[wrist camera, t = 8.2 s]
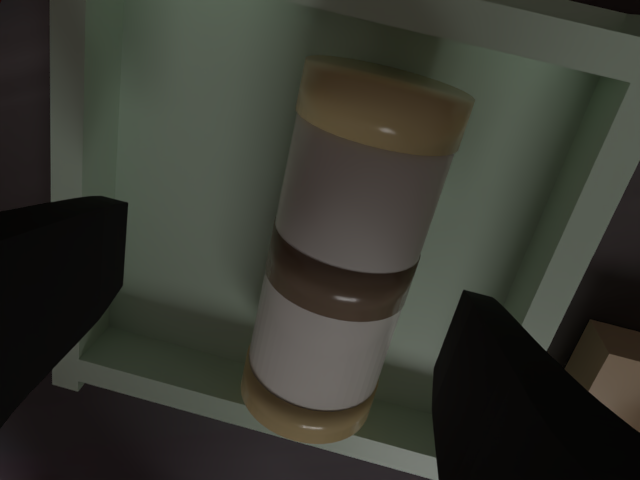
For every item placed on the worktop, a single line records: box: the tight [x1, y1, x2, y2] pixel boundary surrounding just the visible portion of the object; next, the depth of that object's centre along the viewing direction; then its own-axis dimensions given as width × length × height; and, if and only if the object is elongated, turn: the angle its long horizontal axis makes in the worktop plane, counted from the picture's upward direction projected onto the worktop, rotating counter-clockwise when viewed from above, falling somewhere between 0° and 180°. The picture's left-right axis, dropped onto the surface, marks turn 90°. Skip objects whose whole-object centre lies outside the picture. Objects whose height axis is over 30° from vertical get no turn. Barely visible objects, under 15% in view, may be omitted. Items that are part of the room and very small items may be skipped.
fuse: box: [241, 55, 475, 444], centre depth 13 cm, size 8×4×4 cm, turn 168°
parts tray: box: [50, 0, 640, 480], centre depth 14 cm, size 13×13×2 cm
